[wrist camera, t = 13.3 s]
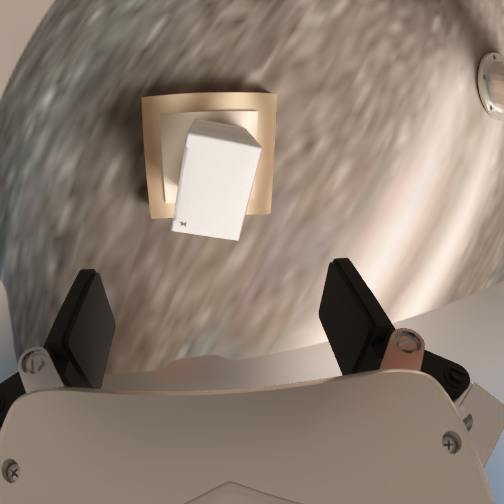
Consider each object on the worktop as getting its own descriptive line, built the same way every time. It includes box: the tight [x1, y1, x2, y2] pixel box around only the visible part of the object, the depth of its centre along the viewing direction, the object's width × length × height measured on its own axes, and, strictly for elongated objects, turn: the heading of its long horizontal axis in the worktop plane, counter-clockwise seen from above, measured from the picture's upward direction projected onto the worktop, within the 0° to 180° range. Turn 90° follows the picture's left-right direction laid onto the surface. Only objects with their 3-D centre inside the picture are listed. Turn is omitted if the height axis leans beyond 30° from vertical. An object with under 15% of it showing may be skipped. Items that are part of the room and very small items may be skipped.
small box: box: [171, 119, 262, 241], centre depth 26 cm, size 8×6×10 cm
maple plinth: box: [142, 92, 277, 219], centre depth 32 cm, size 14×14×4 cm
